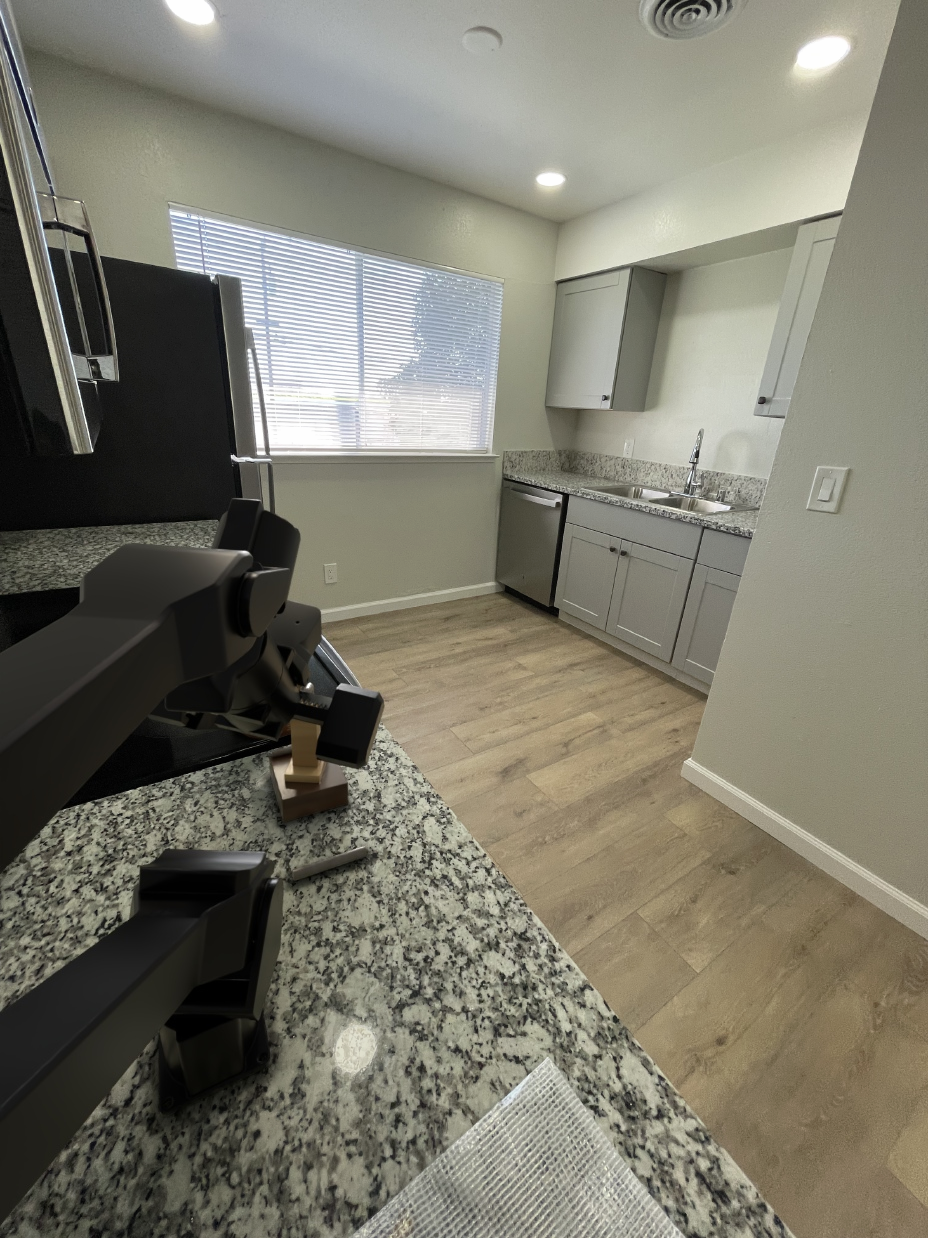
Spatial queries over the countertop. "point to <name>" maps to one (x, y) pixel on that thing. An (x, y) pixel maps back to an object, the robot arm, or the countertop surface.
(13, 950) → the countertop surface
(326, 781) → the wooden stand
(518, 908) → the countertop surface
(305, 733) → the wooden post stand
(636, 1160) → the countertop surface
